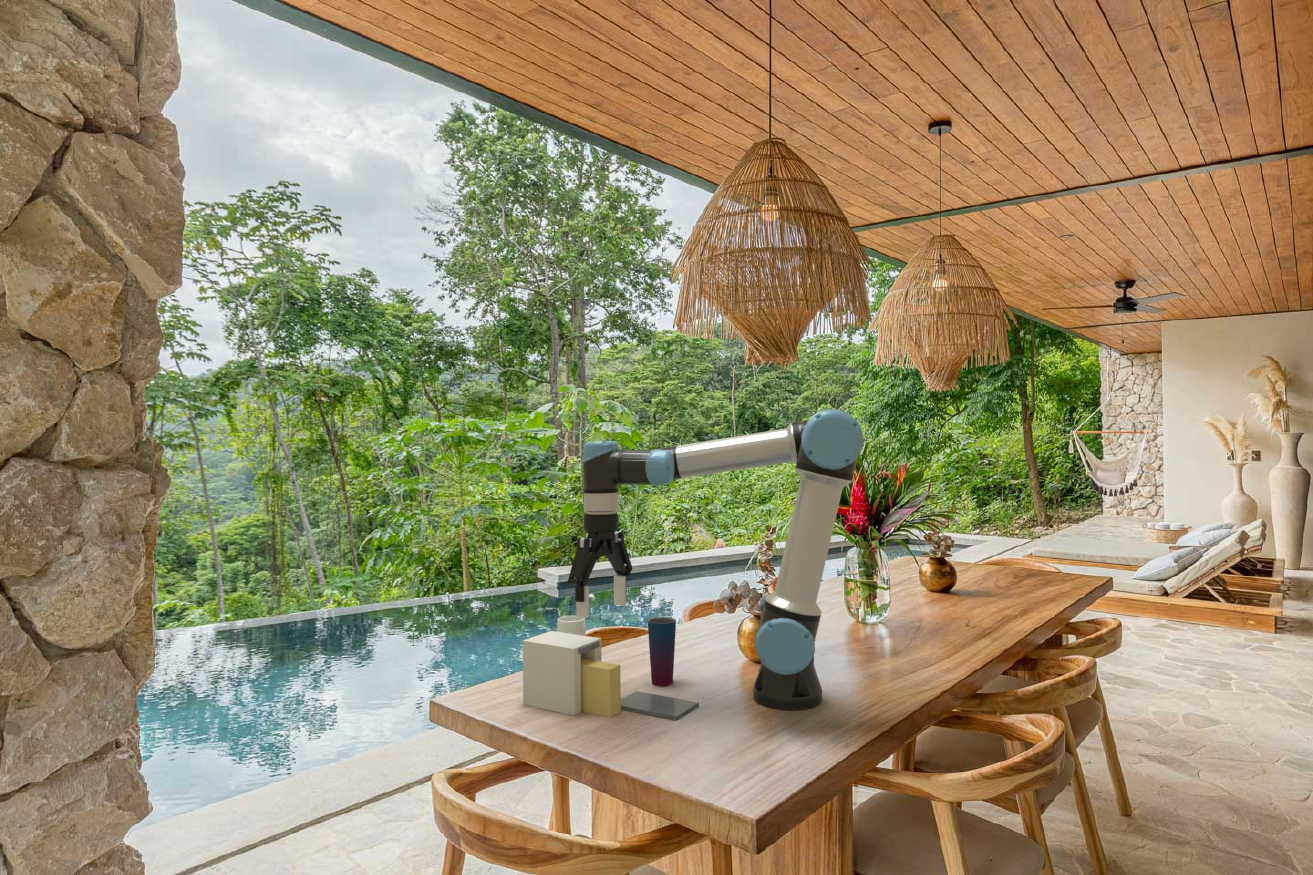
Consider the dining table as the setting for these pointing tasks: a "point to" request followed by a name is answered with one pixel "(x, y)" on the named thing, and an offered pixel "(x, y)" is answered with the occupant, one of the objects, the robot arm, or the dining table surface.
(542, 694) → the box
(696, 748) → the dining table surface
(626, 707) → the slate pad
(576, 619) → the drinking glass
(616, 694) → the yellow rectangular block
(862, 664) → the dining table surface
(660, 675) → the cup
